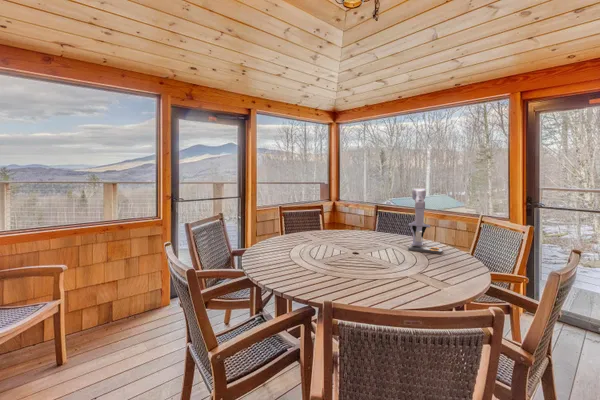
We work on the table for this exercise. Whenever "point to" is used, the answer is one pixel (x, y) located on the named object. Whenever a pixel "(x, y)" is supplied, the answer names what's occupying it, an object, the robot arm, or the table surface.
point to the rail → (425, 249)
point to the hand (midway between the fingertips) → (418, 236)
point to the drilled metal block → (418, 236)
